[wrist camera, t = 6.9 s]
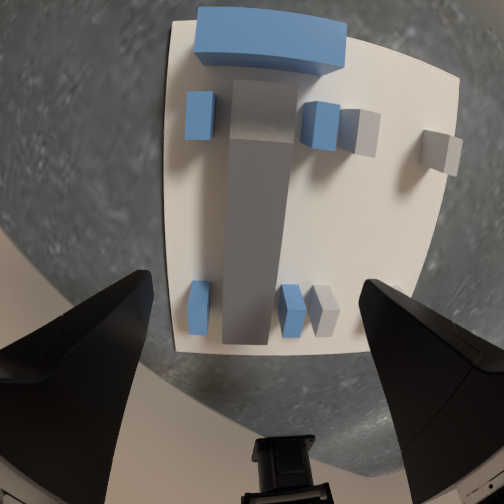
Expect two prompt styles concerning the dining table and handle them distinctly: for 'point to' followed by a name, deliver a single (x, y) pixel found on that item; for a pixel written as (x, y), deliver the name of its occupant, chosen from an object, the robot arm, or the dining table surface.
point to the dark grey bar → (256, 205)
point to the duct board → (304, 173)
